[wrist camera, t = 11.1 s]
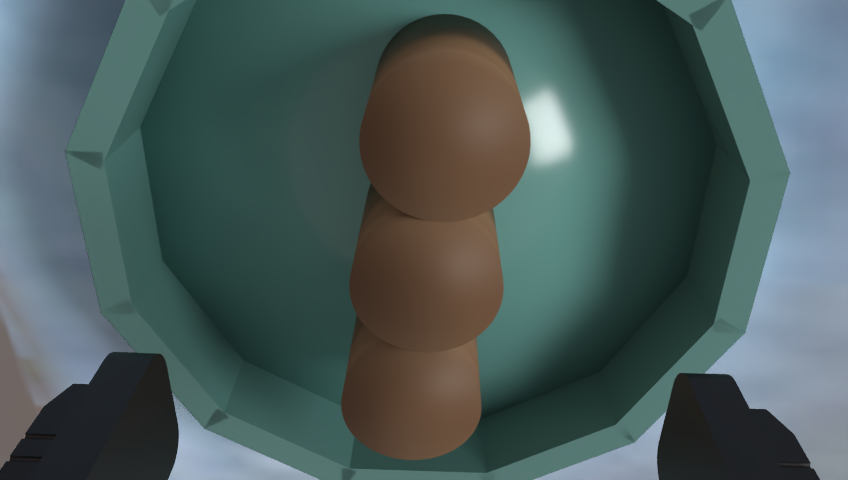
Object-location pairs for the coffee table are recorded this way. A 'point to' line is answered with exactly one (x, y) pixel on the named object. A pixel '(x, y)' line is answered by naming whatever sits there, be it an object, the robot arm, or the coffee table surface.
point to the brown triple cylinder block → (430, 234)
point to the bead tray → (346, 196)
